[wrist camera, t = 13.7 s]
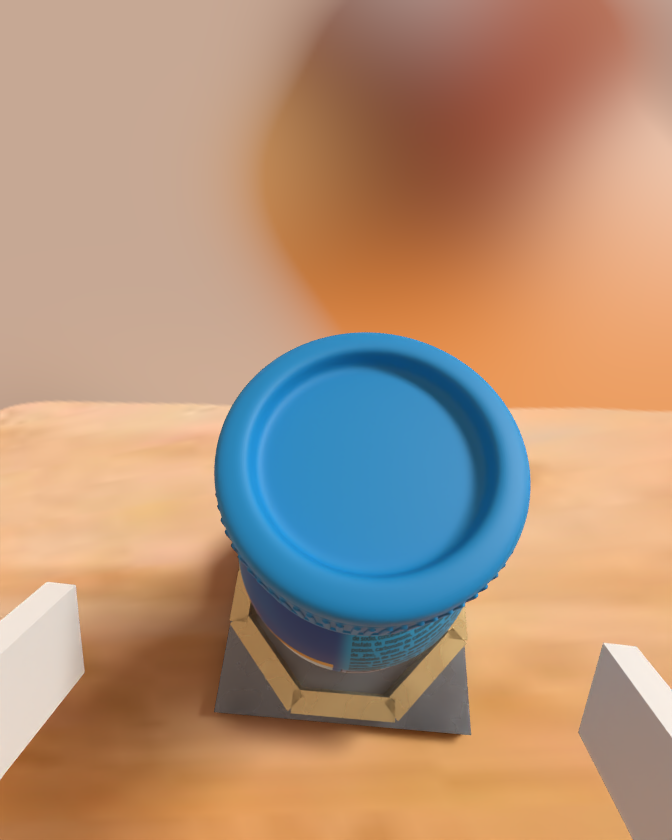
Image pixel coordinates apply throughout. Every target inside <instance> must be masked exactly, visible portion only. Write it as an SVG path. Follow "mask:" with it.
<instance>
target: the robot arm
mask: <svg viewBox="0 0 672 840" xmlns="http://www.w3.org/2000/svg"><path fill="white" fill-rule="evenodd" d="M84 673H85V671H84V661H83V652H82V642H81V632H80V622H79V613H78V603H77V593H76V585H71V584H62V583H53V582H46V583H45V584H44V585H43V586H41V587H40V588H39V589H38V590H37V591H35V592H34V593H33V594H32V595H31V596H29V597H28V598H27V599H26V600H25V601H23V602H22V603H21V604H20V605H19V606H17V607H16V608H15V609H14V610H13V611H11V612H10V613H9V614H8V615H7V616H5V617H4V618H3V619H2V620H1V621H0V779H1V778H2V776H3V775H4V774H5V773H6V771H7V770H8V769H9V768H10V766H11V765H12V764H13V763H14V761H15V760H16V759H17V757H18V756H19V755H20V754H21V752H22V751H23V750H24V749H25V747H26V746H27V745H28V744H29V742H30V741H31V740H32V738H33V737H34V736H35V735H36V733H37V732H38V731H39V730H40V728H41V727H42V726H43V725H44V723H45V722H46V721H47V720H48V718H49V717H50V716H51V714H52V713H53V712H54V711H55V709H56V708H57V707H58V706H59V704H60V703H61V702H62V701H63V699H64V698H65V697H66V695H67V694H68V693H69V692H70V690H71V689H72V688H73V687H74V685H75V684H76V683H77V682H78V680H79V679H80V678H81V677H82V675H83V674H84ZM578 733H579V735H580V737H581V739H582V741H583V743H584V744H585V746H586V748H587V750H588V752H589V754H590V756H591V758H592V760H593V762H594V764H595V766H596V768H597V770H598V772H599V774H600V776H601V778H602V780H603V782H604V784H605V786H606V788H607V790H608V792H609V794H610V795H611V797H612V799H613V801H614V803H615V805H616V807H617V809H618V811H619V813H620V815H621V817H622V819H623V821H624V823H625V825H626V827H627V829H628V831H629V833H630V835H631V837H632V839H633V840H672V690H671V688H670V687H669V686H668V685H667V683H666V682H665V681H664V680H663V679H662V677H661V676H660V675H659V674H658V672H657V671H656V670H655V669H654V668H653V666H652V665H651V664H650V663H649V661H648V660H647V659H646V658H645V657H644V655H643V654H642V653H641V652H640V650H639V649H638V648H637V647H636V646H627V645H618V644H609V643H603V645H602V649H601V653H600V656H599V660H598V663H597V667H596V671H595V674H594V678H593V681H592V685H591V688H590V692H589V696H588V699H587V703H586V706H585V710H584V714H583V717H582V721H581V724H580V728H579V732H578Z"/></svg>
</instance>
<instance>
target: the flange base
mask: <svg viewBox="0 0 672 840" xmlns="http://www.w3.org/2000/svg"><path fill="white" fill-rule="evenodd" d="M229 621H231V622H230V628H229V633H228V639H227V644H226V649H225V655H224V660H223V666H222V671H221V677H220V682H219V688H218V693H217V699H216V704H215V710H214V712H219V713H230V714H241V715H252V716H263V717H274V718H285V719H297V720H308V721H319V722H330V723H341V724H352V725H363V726H374V727H386V728H397V729H408V730H419V731H430V732H441V733H452V734H463V735H471V728H470V714H469V701H468V687H467V674H466V660H465V647H464V646H465V644H466V642H465V641H464V640H467V627H466V614H465V606H464V607H463V608H462V610H461V612H460V614H459V615H458V617H457V619H456V620H455V621H454V623H453V624H452V625H451V627H450V628H449V629H448V630H447V632H446V633H445V634H444V635H443V636H442V637H441V638H440V639H439V640H438V641H437V642H436V643H434V644H433V645H432V646H431V647H429V648H428V649H427V650H425V651H424V652H422V653H421V654H419V655H417V656H416V657H414V658H412V659H410V660H408V661H405V662H403V663H400V664H398V665H395V666H391V667H389V668H386V669H382V670H378V671H373V672H366V673H345V672H338V671H333V670H329V669H326V668H323V667H320V666H317V665H315V664H313V663H311V662H309V661H307V660H305V659H303V658H301V657H300V656H298V655H297V654H295V653H294V652H293V651H291V650H290V649H289V648H288V647H287V646H286V645H284V644H283V643H282V642H281V641H280V640H279V639H278V638H277V637H276V636H275V635H274V634H273V633H272V632H271V631H270V629H269V628H268V627H267V626H266V625H265V623H264V622H263V621H262V619H261V618H260V617H259V615H258V614H257V612H256V610H255V608H254V607H253V605H252V603H251V601H250V599H249V596H248V594H247V592H246V589H245V586H244V583H243V579H242V576H241V571H240V565H239V571H238V576H237V581H236V587H235V592H234V598H233V603H232V609H231V614H230V620H229Z"/></svg>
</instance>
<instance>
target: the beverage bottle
mask: <svg viewBox="0 0 672 840" xmlns="http://www.w3.org/2000/svg"><path fill="white" fill-rule="evenodd" d="M214 476H215V490H216V494H215V495H216V497H217V501H218V505H217V507H218V509H219V511H220V513H221V516H222V518H221V522H222V524H223V525H224V526H225V527H226V530H225V534H226V535H227V536H228V537H229V539H230V540H231V541H232V544H231V547H232V548H233V549H234V550H235V551H236V552H237V554H238V558H239V565H240V571H241V576H242V579H243V583H244V586H245V589H246V592H247V594H248V596H249V599H250V601H251V603H252V605H253V607H254V608H255V610H256V612H257V614H258V615H259V617H260V618H261V619H262V621H263V622H264V623H265V625H266V626H267V627H268V628H269V629H270V631H271V632H272V633H273V634H274V635H275V636H276V637H277V638H278V639H279V640H280V641H281V642H282V643H283V644H284V645H286V646H287V647H288V648H289V649H290V650H291V651H293V652H294V653H295V654H297V655H298V656H300V657H301V658H303V659H305V660H307V661H309V662H311V663H313V664H315V665H317V666H320V667H323V668H326V669H329V670H333V671H338V672H345V673H366V672H373V671H378V670H382V669H386V668H389V667H391V666H395V665H398V664H400V663H403V662H405V661H408V660H410V659H412V658H414V657H416V656H417V655H419V654H421V653H422V652H424V651H425V650H427V649H428V648H429V647H431V646H432V645H433V644H434V643H436V642H437V641H438V640H439V639H440V638H441V637H442V636H443V635H444V634H445V633H446V632H447V630H448V629H449V628H450V627H451V625H452V624H453V623H454V621H455V620H456V619H457V617H458V615H459V614H460V612H461V610H462V608H463V607H464V606H465V603H466V602H468V601H471V600H473V599H475V598H477V597H478V593H479V592H481V591H483V590H485V589H487V588H488V585H487V584H488V583H489V582H490V581H491V580H493V579H495V578H497V577H498V572H499V571H500V570H501V569H502V568H503V567H505V565H506V564H505V563H506V561H507V560H508V558H509V557H510V555H511V554H512V553H513V550H514V548H515V546H516V544H517V542H518V540H519V538H520V535H521V533H522V530H523V527H524V524H525V521H526V517H527V513H528V507H529V500H530V469H529V462H528V457H527V452H526V448H525V445H524V442H523V439H522V436H521V434H520V431H519V429H518V426H517V424H516V422H515V420H514V418H513V417H512V415H511V413H510V411H509V410H508V408H507V407H506V405H505V404H504V402H503V401H502V399H501V398H500V397H499V396H498V394H497V393H496V392H495V391H494V390H493V389H492V387H491V386H490V385H489V384H488V383H487V382H486V381H485V380H484V379H483V378H482V377H481V376H480V375H478V374H477V373H476V372H475V371H474V370H472V369H471V368H470V367H468V366H467V365H466V364H464V363H462V362H461V361H460V360H458V359H457V358H455V357H453V356H452V355H450V354H448V353H446V352H444V351H442V350H440V349H438V348H436V347H434V346H431V345H429V344H426V343H423V342H420V341H417V340H414V339H410V338H407V337H402V336H397V335H392V334H384V333H349V334H348V333H347V334H340V335H335V336H329V337H325V338H322V339H318V340H314V341H311V342H309V343H306V344H303V345H301V346H299V347H297V348H295V349H292V350H290V351H289V352H287V353H285V354H283V355H282V356H280V357H278V358H277V359H275V360H274V361H272V362H271V363H270V364H268V365H267V366H266V367H265V368H264V369H262V370H261V371H260V372H259V373H258V374H257V375H256V376H255V377H254V378H253V379H252V380H251V381H250V382H249V383H248V384H247V385H246V387H245V388H244V389H243V390H242V392H241V393H240V394H239V396H238V397H237V399H236V400H235V402H234V404H233V405H232V407H231V409H230V411H229V413H228V415H227V417H226V419H225V421H224V424H223V427H222V430H221V433H220V436H219V440H218V444H217V449H216V456H215V470H214Z"/></svg>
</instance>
